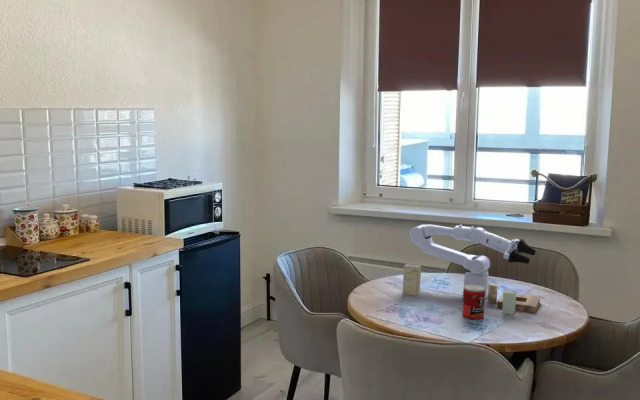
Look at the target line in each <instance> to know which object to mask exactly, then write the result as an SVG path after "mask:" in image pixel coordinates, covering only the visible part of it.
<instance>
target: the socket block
mask: <svg viewBox="0 0 640 400" xmlns="http://www.w3.org/2000/svg"><path fill="white" fill-rule="evenodd" d="M540 300H541V297H540V296H535V295H529V294H528V295H527V294H519V293H516V304H515V311H519V312H520V311H521V312H527V313H528V312H529V313H535V314H536V312H537V310H538V308H539V305H540V302H541V301H540ZM496 307H497V308H499V309H503V293H502V294H501V296H500V297H499V298H498V299H497V303H496Z"/></svg>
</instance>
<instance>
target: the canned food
mask: <svg viewBox="0 0 640 400" xmlns="http://www.w3.org/2000/svg"><path fill="white" fill-rule="evenodd" d="M462 293H463V295H462V315H463V317H464V318H466V319H469V320H481V319H483V318H484V316H485V300H486V298H485V287H483V286H480V285H474V284H469V285H465V286H464V285H463V291H462Z"/></svg>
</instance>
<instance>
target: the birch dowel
mask: <svg viewBox="0 0 640 400" xmlns="http://www.w3.org/2000/svg"><path fill="white" fill-rule="evenodd" d="M498 287H499V286H498V284H496V283H488V296H487V304H488V303H489V304H497V301H498Z"/></svg>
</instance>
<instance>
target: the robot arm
mask: <svg viewBox="0 0 640 400" xmlns="http://www.w3.org/2000/svg"><path fill="white" fill-rule="evenodd" d="M433 235H439V236H440V235H441V236H451V237H452V238H454V240H458V241H467V242H472V243H473V244H475V245H476V244H477V245H478V244H481V245H483V246H485V247H488V248H490V249H493V250H495V251H497V252H499V253H502V254H503V257H502V258H503V259H504V260H506V261H507V260H508V263H510V264H511V263H520V264H527V265H528V264H529V263H530V261H531V259H530V258H529V257H528V256H526V255H531V256H535V255H536V252H537V251H536V250H535V249H534V248H533V247H532V246H531V245H529V244H528V243H527V242H526V241H525V240H524V239H522V238H520V239H519V238H515V239H512V240H509V239H508V238H504V237H502V236H500V235H498V234H494V233H492V232H490V231H487V230H486V229H485V228H484V227H481V226H477V227H475V226H463V224H459V225H455V226H454V227H449V226H442V225H439V224H438V225H436V224H431V223H430V224H426V223H422V224H420V225H418V226H413V227H412V228H411V229H410V230H409V237H410V240H411V242H412V243H413V244H415V245H416V246H417V247H418V248H419V249H420V250H421V251H422V252H423V253H424V254H427V255H430V256H433V257H436V258H439V259H442V260H445V261H448V262H451V263H454V264H457V265H460V266H462V267H464V269H465V270H467V271H469V272H465V274H464V279H463V287H464V286H465V285H469V284H474V285H480V286H483V287H485V299H488V284H489V270H488V269H490V267H491V260H490V259H489V257H488V256H485V255H476V254H469V253H468V254H467V253H464V252H462V251H459V250H456V249H453V248H449V247H446V246H443V245H440V244H437V243H435V242H434V240H433V239H432V236H433ZM522 253H523V254H522ZM524 254H526V255H524Z"/></svg>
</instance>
